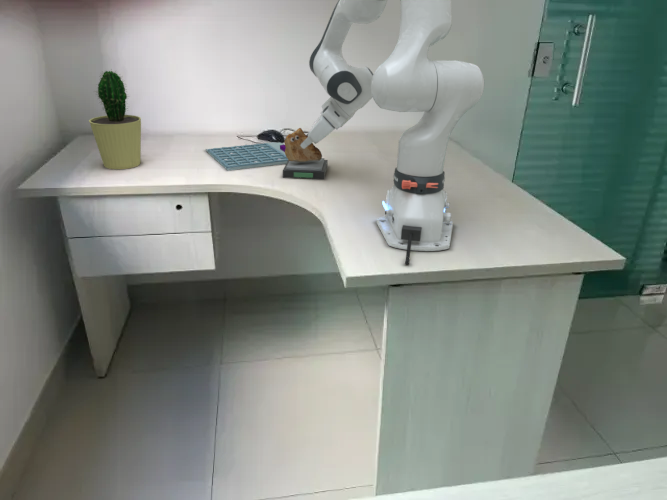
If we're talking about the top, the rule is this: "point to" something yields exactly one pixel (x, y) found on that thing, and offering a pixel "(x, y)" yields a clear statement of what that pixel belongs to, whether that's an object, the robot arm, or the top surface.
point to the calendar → (250, 155)
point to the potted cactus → (116, 126)
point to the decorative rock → (300, 148)
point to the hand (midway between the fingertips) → (303, 143)
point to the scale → (306, 169)
